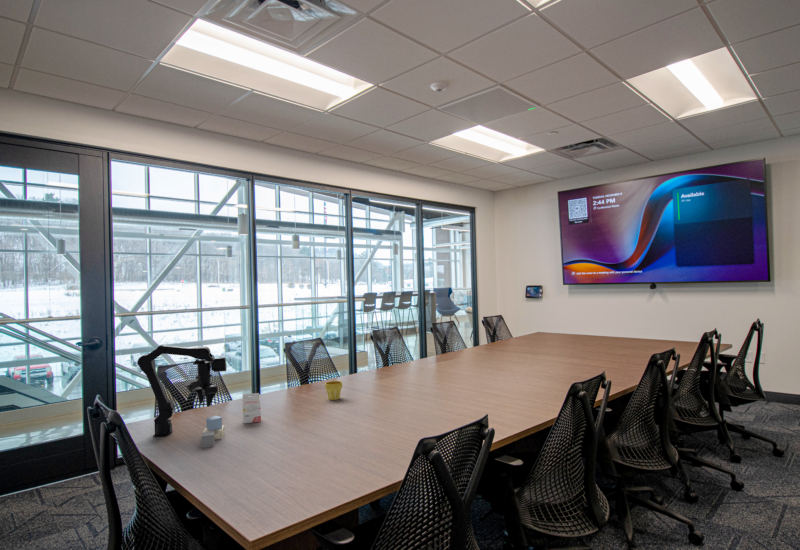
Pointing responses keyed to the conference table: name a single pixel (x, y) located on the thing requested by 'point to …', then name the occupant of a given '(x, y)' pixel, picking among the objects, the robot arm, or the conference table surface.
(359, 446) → the conference table surface
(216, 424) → the blue cube
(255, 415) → the ink cartridge box
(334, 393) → the plant pot
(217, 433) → the maple block
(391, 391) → the conference table surface
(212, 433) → the grey cube
